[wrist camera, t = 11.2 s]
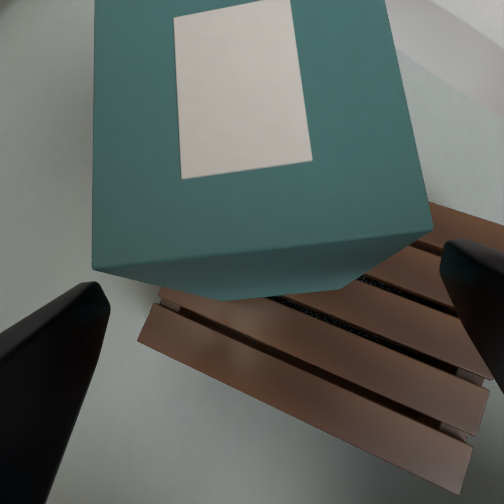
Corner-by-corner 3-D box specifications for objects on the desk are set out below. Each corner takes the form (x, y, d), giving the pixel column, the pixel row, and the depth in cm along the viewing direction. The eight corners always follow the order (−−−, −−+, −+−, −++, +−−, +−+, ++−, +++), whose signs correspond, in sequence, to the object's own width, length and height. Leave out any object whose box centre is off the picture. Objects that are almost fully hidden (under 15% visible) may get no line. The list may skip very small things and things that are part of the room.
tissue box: (340, 289, 16) (437, 228, 5) (221, 301, 17) (87, 270, 6) (322, 165, 17) (369, -83, 7) (212, 180, 18) (91, -24, 7)
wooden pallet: (419, 453, 18) (459, 497, 14) (168, 336, 21) (136, 341, 17) (482, 253, 20) (536, 235, 15) (241, 171, 23) (229, 136, 18)
